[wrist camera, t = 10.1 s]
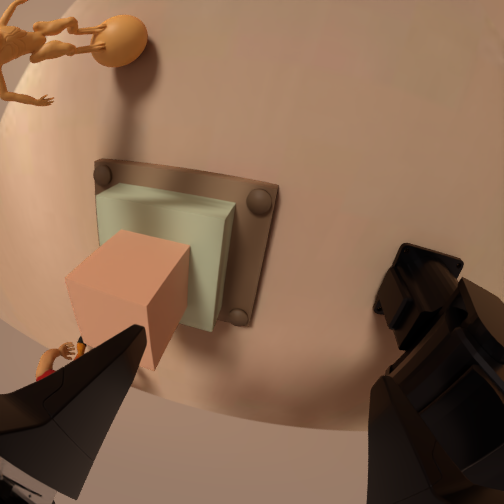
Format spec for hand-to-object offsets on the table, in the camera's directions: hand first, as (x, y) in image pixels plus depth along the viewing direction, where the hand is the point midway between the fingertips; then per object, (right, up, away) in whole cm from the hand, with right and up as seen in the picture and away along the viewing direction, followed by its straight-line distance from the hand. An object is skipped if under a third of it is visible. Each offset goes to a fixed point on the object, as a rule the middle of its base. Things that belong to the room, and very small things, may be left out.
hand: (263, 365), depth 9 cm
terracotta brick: (-7, +3, +9) cm, 12 cm away
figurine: (-10, +19, +6) cm, 22 cm away
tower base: (-6, +5, +12) cm, 15 cm away
